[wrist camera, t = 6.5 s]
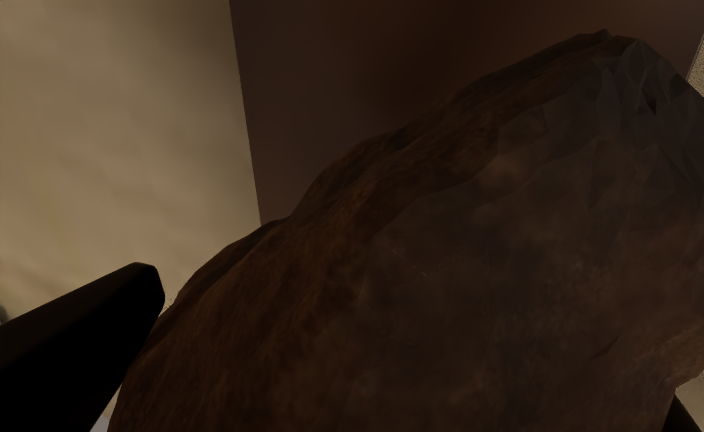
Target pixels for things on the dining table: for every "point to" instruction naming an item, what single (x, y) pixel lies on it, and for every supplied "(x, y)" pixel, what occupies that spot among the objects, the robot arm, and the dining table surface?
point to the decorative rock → (462, 270)
